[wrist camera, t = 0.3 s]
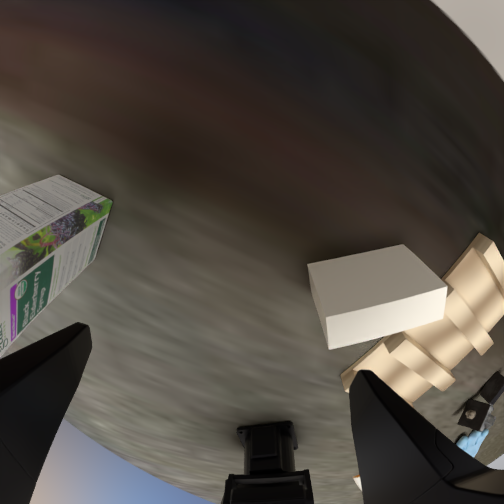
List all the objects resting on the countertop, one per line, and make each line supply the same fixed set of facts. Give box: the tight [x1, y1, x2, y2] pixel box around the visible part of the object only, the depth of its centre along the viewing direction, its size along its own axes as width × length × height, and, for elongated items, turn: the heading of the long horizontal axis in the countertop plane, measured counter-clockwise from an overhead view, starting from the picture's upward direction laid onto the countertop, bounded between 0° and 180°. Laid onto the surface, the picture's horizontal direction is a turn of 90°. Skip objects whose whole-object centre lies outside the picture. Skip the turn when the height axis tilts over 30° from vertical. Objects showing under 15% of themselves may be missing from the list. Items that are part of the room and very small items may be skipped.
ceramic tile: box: [307, 244, 448, 350], centre depth 20 cm, size 2×8×7 cm, turn 102°
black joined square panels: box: [458, 372, 504, 432], centre depth 29 cm, size 9×2×6 cm
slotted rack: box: [340, 233, 504, 408], centre depth 25 cm, size 12×19×2 cm, turn 142°
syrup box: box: [0, 175, 112, 357], centre depth 15 cm, size 6×6×14 cm
